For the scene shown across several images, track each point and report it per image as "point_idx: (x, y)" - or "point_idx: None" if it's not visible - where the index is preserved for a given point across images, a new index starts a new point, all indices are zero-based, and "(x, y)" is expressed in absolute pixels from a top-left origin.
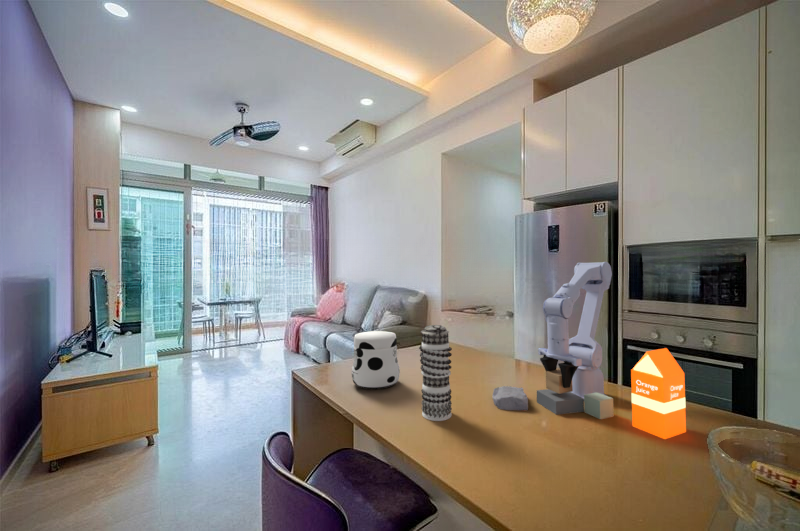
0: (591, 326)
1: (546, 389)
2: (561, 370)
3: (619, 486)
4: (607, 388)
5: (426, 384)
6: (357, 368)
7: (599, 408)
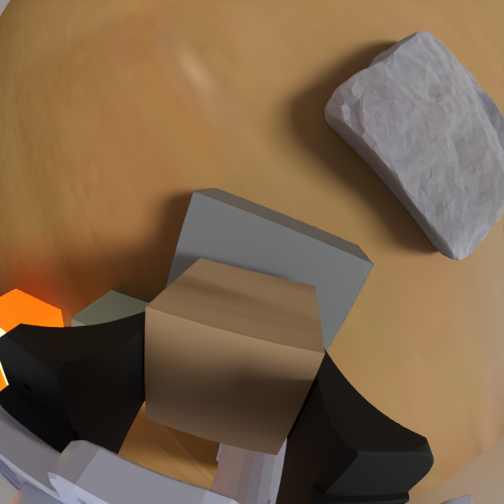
0: None
1: (341, 322)
2: (97, 345)
3: (7, 45)
4: None
5: None
6: None
7: (90, 305)
